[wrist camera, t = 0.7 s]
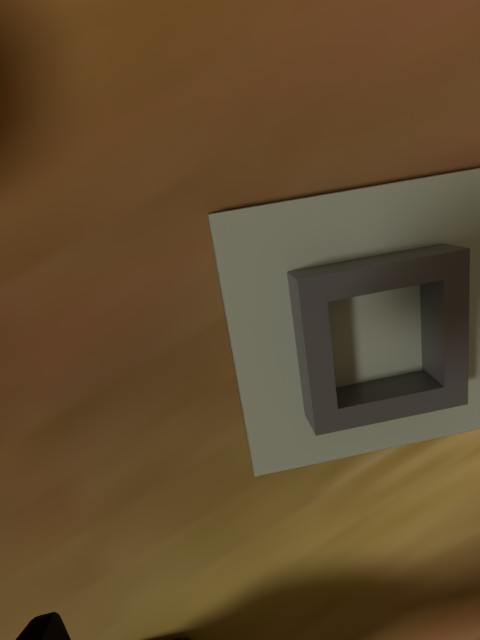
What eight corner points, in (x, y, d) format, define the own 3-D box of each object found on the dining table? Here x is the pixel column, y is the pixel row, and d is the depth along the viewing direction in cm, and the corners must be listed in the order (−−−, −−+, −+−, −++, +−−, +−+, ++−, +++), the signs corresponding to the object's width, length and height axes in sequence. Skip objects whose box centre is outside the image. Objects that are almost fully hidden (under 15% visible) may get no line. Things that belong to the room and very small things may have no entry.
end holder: (484, 416, 24) (525, 445, 21) (252, 465, 23) (260, 502, 20) (491, 165, 20) (542, 159, 17) (207, 213, 19) (210, 216, 16)
